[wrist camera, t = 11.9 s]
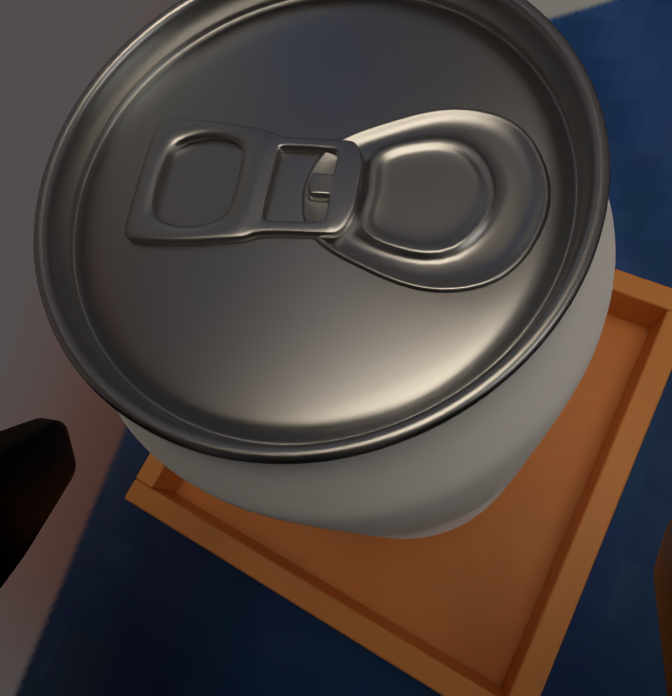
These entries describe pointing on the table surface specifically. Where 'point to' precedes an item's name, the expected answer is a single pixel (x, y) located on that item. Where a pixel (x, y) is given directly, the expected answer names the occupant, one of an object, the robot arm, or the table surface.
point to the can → (334, 250)
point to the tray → (466, 532)
